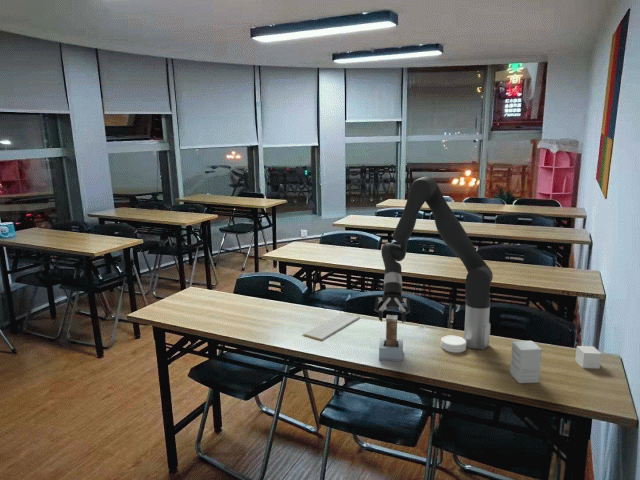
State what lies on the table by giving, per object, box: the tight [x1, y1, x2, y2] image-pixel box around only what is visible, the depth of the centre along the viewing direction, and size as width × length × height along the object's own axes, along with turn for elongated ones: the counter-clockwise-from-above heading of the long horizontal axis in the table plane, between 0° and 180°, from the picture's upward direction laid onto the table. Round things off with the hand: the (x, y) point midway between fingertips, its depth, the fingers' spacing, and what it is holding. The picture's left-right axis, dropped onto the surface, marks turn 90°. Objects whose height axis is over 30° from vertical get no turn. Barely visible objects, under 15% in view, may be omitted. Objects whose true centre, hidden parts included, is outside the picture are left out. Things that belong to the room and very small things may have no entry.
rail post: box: [385, 314, 399, 347], centre depth 180 cm, size 4×4×15 cm
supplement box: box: [509, 340, 543, 384], centre depth 161 cm, size 7×7×13 cm
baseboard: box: [302, 310, 360, 342], centre depth 211 cm, size 31×3×12 cm
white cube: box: [574, 345, 602, 369], centre depth 171 cm, size 6×6×6 cm
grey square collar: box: [378, 337, 404, 362], centre depth 181 cm, size 9×9×5 cm
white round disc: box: [440, 334, 467, 354], centre depth 187 cm, size 10×10×4 cm
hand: (392, 321), depth 185 cm, fingers open, 8 cm apart
